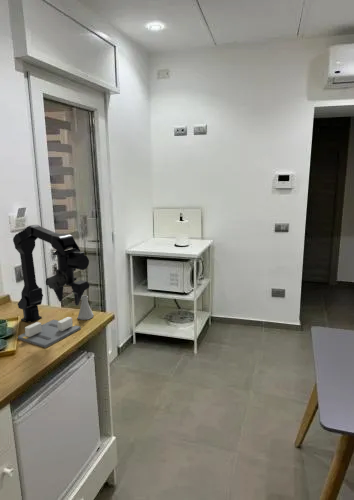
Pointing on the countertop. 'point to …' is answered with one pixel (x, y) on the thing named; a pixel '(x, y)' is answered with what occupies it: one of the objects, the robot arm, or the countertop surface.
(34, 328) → the slider
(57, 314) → the countertop surface
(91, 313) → the flask
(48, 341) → the switch panel
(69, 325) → the slider
